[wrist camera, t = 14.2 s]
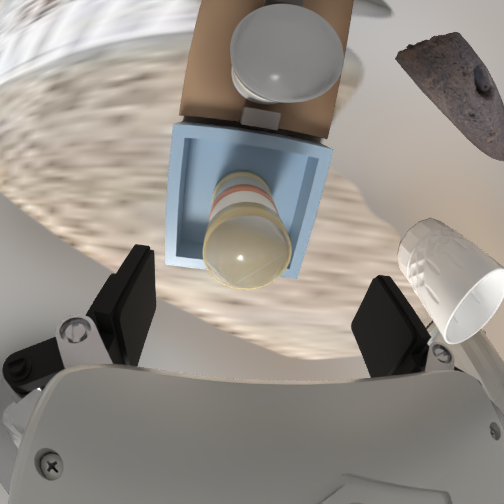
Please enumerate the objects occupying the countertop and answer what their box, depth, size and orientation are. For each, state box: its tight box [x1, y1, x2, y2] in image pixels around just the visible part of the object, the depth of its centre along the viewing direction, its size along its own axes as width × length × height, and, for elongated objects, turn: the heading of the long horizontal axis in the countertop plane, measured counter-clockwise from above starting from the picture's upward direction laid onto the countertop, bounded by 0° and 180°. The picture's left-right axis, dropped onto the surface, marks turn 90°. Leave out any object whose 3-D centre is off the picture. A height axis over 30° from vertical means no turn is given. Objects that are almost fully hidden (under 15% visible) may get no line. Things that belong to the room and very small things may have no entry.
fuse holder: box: [179, 0, 353, 139], centre depth 12 cm, size 10×15×4 cm, turn 170°
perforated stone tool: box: [395, 32, 504, 161], centre depth 13 cm, size 15×5×7 cm, turn 59°
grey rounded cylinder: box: [230, 4, 344, 104], centre depth 11 cm, size 4×4×8 cm
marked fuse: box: [203, 170, 292, 290], centre depth 16 cm, size 4×4×8 cm
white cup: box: [397, 218, 504, 344], centre depth 20 cm, size 8×8×10 cm
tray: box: [165, 121, 333, 279], centre depth 19 cm, size 10×10×3 cm
